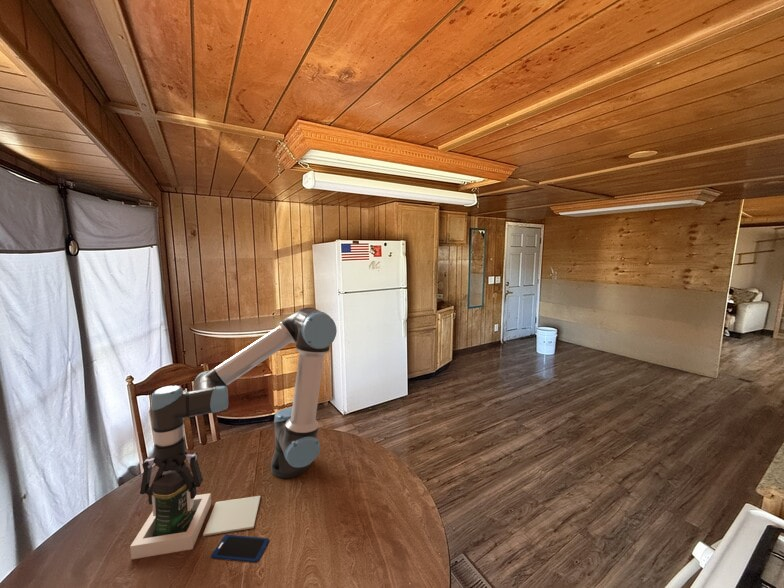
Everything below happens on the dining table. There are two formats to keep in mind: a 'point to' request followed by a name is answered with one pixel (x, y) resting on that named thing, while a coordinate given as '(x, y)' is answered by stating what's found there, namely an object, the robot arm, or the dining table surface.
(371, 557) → the dining table surface
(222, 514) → the beige board
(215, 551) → the cell phone
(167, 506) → the coffee jar
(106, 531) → the dining table surface
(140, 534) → the cream open rectangular frame
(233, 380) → the robot arm
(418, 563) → the dining table surface
